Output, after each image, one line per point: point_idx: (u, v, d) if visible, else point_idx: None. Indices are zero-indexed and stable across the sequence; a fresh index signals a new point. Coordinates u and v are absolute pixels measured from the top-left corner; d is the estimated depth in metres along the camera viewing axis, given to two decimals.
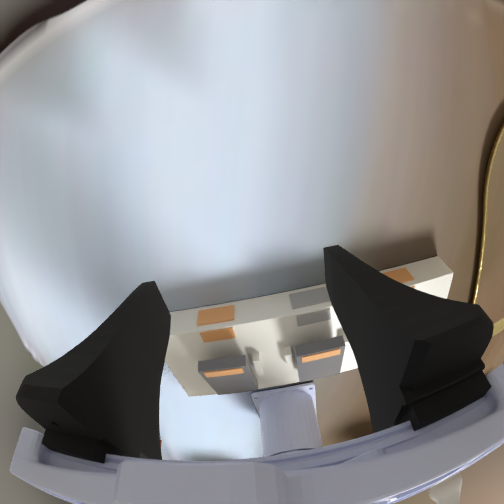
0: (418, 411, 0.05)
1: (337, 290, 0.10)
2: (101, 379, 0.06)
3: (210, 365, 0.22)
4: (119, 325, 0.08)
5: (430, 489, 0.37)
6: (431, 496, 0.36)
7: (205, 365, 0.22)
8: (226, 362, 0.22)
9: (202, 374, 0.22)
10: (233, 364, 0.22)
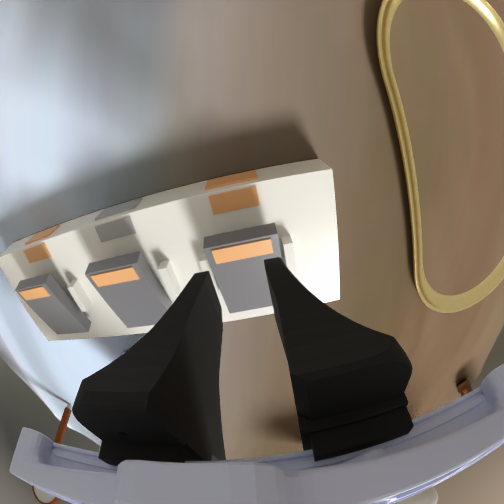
0: (316, 443, 0.05)
1: (273, 304, 0.10)
2: (179, 376, 0.06)
3: (24, 284, 0.16)
4: (187, 316, 0.08)
5: None
6: None
7: (21, 284, 0.16)
8: (34, 280, 0.16)
9: (20, 295, 0.16)
10: (38, 282, 0.16)
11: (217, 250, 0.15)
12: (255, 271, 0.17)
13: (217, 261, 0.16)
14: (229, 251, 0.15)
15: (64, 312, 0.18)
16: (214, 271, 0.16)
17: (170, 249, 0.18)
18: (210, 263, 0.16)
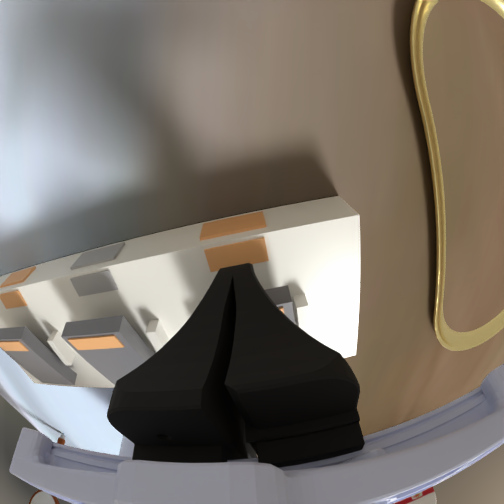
0: (261, 451, 0.05)
1: None
2: (221, 372, 0.06)
3: (0, 334, 0.13)
4: (221, 310, 0.08)
5: None
6: None
7: None
8: (10, 332, 0.13)
9: None
10: (14, 335, 0.12)
11: None
12: None
13: None
14: None
15: (46, 366, 0.14)
16: None
17: (159, 308, 0.15)
18: None
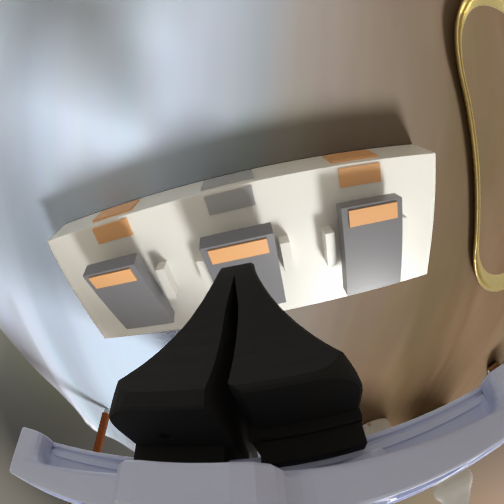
0: (264, 451, 0.05)
1: None
2: (223, 372, 0.06)
3: (97, 268, 0.16)
4: (223, 310, 0.08)
5: (435, 488, 0.31)
6: (436, 496, 0.30)
7: (92, 268, 0.16)
8: (114, 263, 0.16)
9: (89, 282, 0.16)
10: (120, 264, 0.16)
11: (353, 211, 0.15)
12: (380, 239, 0.16)
13: (351, 224, 0.16)
14: (362, 213, 0.15)
15: (149, 300, 0.18)
16: (345, 237, 0.16)
17: (290, 223, 0.17)
18: (344, 227, 0.16)
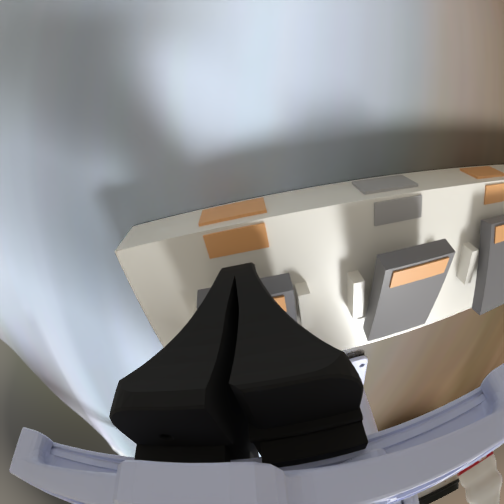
0: (265, 451, 0.05)
1: None
2: (224, 372, 0.06)
3: None
4: (223, 310, 0.08)
5: (468, 492, 0.26)
6: (469, 499, 0.25)
7: None
8: None
9: None
10: (267, 289, 0.12)
11: (498, 227, 0.11)
12: None
13: (496, 239, 0.12)
14: (503, 230, 0.12)
15: None
16: (490, 254, 0.12)
17: None
18: (491, 243, 0.12)
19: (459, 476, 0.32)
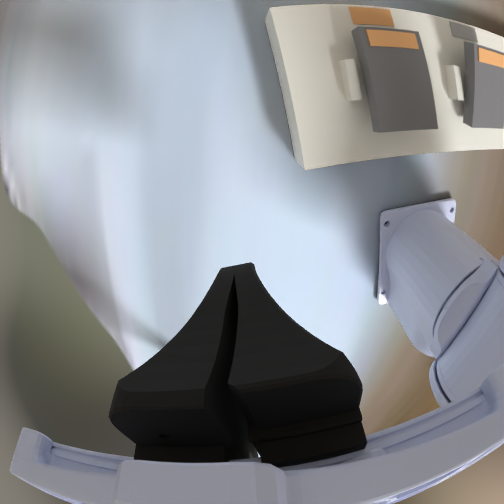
0: (264, 451, 0.05)
1: None
2: (223, 372, 0.06)
3: None
4: (223, 310, 0.08)
5: None
6: None
7: None
8: None
9: (363, 36, 0.10)
10: None
11: None
12: None
13: None
14: None
15: (423, 82, 0.11)
16: None
17: None
18: None
19: None
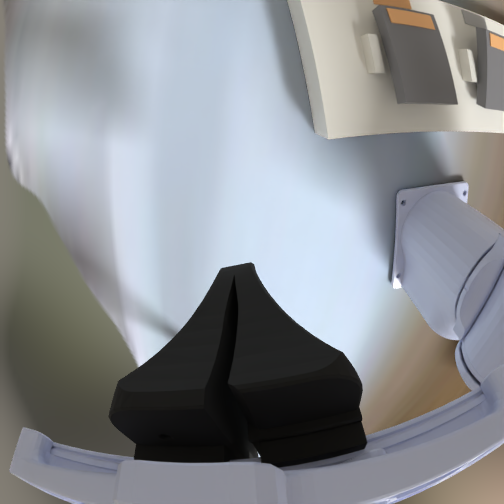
0: (264, 451, 0.05)
1: None
2: (223, 372, 0.06)
3: None
4: (223, 310, 0.08)
5: None
6: None
7: None
8: None
9: (384, 14, 0.10)
10: None
11: None
12: None
13: None
14: None
15: (441, 59, 0.10)
16: None
17: None
18: None
19: None
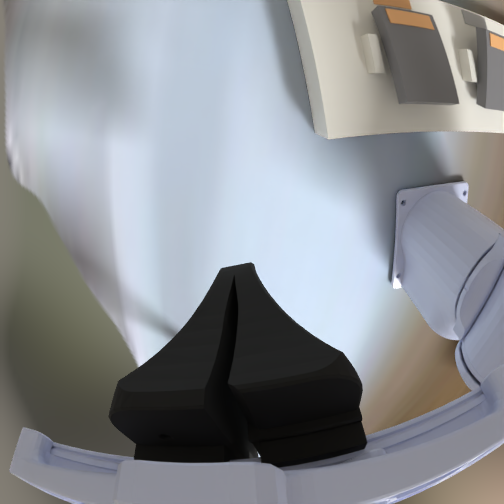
0: (264, 451, 0.05)
1: None
2: (223, 372, 0.06)
3: None
4: (223, 310, 0.08)
5: None
6: None
7: None
8: None
9: (383, 14, 0.10)
10: None
11: None
12: None
13: None
14: None
15: (441, 59, 0.10)
16: None
17: None
18: None
19: None
